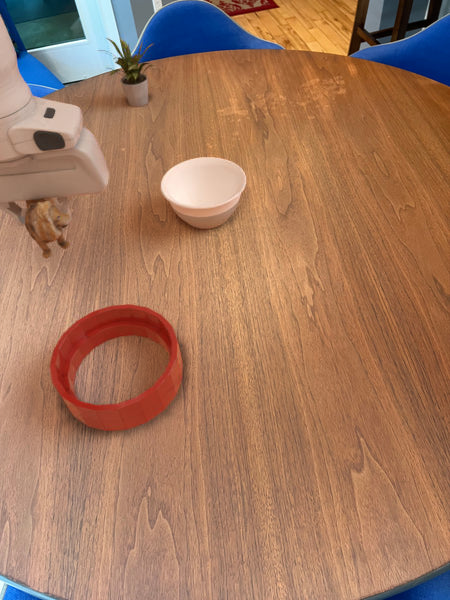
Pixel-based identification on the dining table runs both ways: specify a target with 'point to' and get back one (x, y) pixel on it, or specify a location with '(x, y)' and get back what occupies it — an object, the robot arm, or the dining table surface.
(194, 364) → the dining table surface
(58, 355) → the red plastic ring
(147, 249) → the dining table surface
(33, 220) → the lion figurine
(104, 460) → the dining table surface
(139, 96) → the house plant
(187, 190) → the bowl
